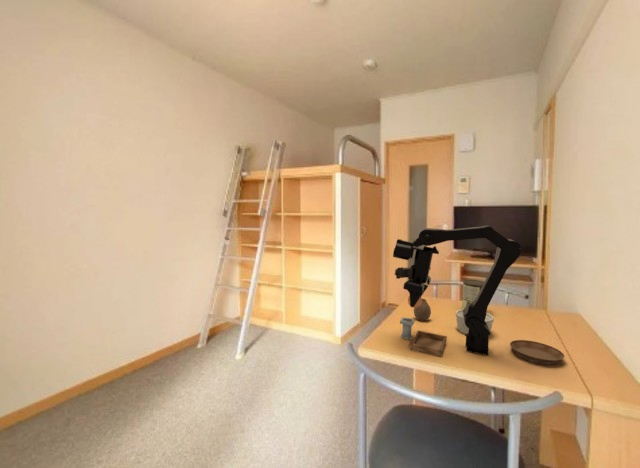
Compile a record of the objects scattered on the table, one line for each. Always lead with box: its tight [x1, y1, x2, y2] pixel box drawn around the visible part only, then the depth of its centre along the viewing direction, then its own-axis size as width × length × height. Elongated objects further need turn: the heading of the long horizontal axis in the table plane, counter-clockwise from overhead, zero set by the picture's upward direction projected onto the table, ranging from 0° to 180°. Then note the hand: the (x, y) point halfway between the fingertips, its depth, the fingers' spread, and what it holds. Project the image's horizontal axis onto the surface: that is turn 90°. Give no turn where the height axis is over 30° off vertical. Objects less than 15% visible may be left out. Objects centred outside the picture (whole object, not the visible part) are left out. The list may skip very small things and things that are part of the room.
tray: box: [409, 330, 448, 358], centre depth 110 cm, size 10×13×2 cm
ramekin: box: [455, 308, 494, 335], centre depth 123 cm, size 13×13×7 cm
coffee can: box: [461, 279, 485, 310], centre depth 146 cm, size 10×10×14 cm
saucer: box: [509, 339, 565, 365], centre depth 104 cm, size 15×15×3 cm
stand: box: [399, 316, 416, 340], centre depth 116 cm, size 5×5×6 cm
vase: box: [413, 298, 432, 322], centre depth 135 cm, size 7×7×9 cm
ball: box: [407, 295, 423, 309], centre depth 114 cm, size 5×5×5 cm
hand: (413, 305), depth 114 cm, fingers closed on ball, 5 cm apart
